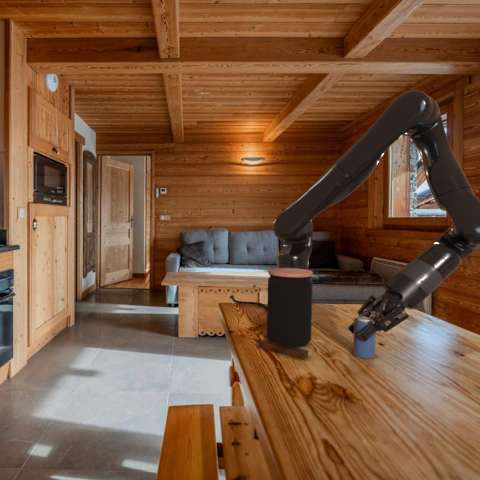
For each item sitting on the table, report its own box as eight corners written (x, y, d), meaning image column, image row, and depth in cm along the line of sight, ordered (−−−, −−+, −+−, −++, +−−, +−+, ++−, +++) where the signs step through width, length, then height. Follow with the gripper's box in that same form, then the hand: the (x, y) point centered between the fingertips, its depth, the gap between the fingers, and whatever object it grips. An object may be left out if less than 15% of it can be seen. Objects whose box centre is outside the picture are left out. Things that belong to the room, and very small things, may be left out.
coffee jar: (312, 338, 101) (314, 269, 100) (309, 350, 91) (311, 274, 90) (270, 332, 105) (271, 266, 104) (263, 344, 95) (264, 271, 94)
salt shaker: (350, 354, 88) (351, 318, 88) (356, 350, 91) (357, 314, 91) (371, 359, 85) (372, 321, 85) (377, 354, 88) (378, 318, 88)
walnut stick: (258, 347, 93) (259, 341, 93) (264, 345, 95) (264, 339, 95) (303, 359, 85) (303, 352, 85) (308, 356, 87) (308, 350, 87)
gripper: (385, 267, 94) (332, 315, 95) (420, 276, 80) (357, 332, 81) (407, 289, 94) (353, 337, 95) (446, 302, 79) (382, 358, 81)
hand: (355, 334), depth 88 cm, fingers closed on salt shaker, 4 cm apart
